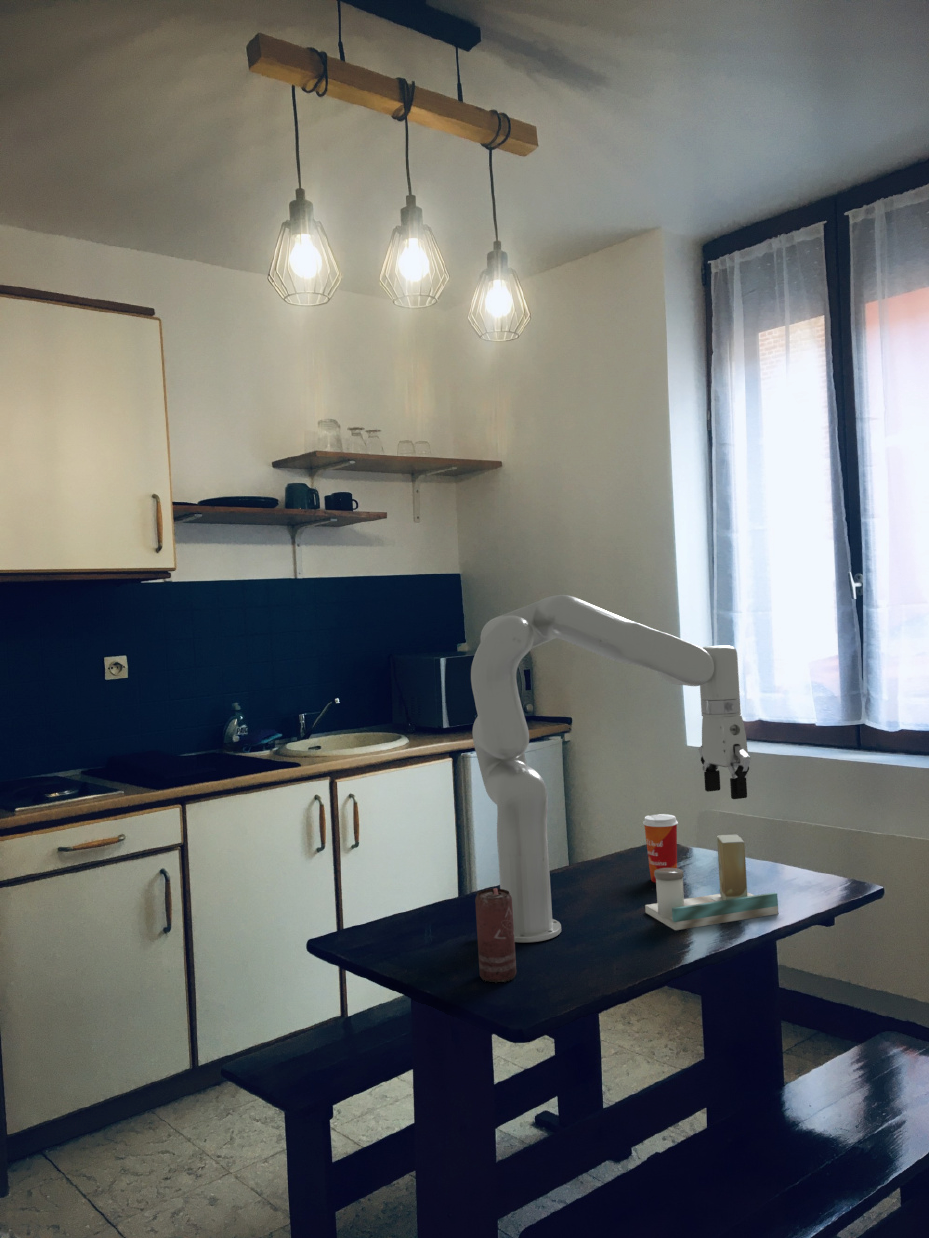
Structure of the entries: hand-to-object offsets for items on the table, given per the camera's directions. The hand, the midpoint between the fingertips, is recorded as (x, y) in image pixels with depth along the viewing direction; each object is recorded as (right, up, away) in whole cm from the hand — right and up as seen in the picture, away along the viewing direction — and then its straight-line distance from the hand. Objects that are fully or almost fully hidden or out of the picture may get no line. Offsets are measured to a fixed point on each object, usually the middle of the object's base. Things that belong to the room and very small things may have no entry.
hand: (725, 794), depth 185 cm
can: (-46, -25, -29) cm, 60 cm away
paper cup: (-7, -23, +22) cm, 33 cm away
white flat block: (-4, -23, -3) cm, 23 cm away
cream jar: (-12, -22, -6) cm, 26 cm away
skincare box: (+1, -21, -1) cm, 21 cm away
